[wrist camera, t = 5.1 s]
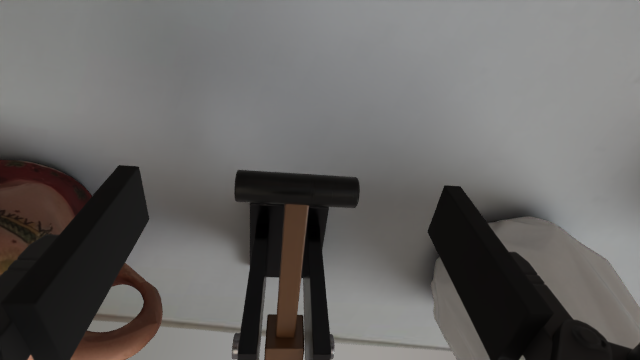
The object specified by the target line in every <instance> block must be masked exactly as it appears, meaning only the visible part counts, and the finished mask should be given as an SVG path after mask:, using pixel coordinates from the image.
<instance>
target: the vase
mask: <svg viewBox="0 0 640 360" xmlns="http://www.w3.org/2000/svg"><path fill="white" fill-rule="evenodd" d="M488 224H489V226H490V227H491V228H492V230H493V231H494V233H495V234H496V235H497V237H498V238H499V239H500V241H501V242H502V243H503V245H504V246H505V247H506V249H507V250H508V252H517V253H518V254H519V255H520V256H522V257H523V258H524V259H525V260H527V261H528V262H529V263H530V264H531V266H532V267H533V268H534V270H535V271H536V272H537V275H539V276H540V277H541V279H542V280H543V281H544V282H545V283H544V284H545V285H547V286H548V288H549V289H550V290H551V291H552V293H553V294H554V295H555V297H556V298H557V299H558V300H559V302H560V303H561V304H562V305H563V307H564V308H565V309H566V311H567V312H568V313H569V314H570V316H571V317H572V318H573V319H574V320H579V321H582V322H584V323H587V324H588V325H590V326H591V327H593V328H595V329H596V330H597V331H598V332H600V333H601V334H602V335H603V336H604V337H605V338H606V340H607V341H608V342H611V343H614V344H617V345H621V346H624V347H628V348H631V349H634V348H635V347H636V346H637V345H638V344H639V343H640V307H639V306H638V304H637V303H636V301H635V300H634V298H633V297H632V295H631V294H630V292H629V291H628V289H627V288H626V286H625V285H624V283H623V282H622V280H621V279H620V277H619V276H618V274H617V273H616V271H615V270H614V268H613V267H612V265H611V264H610V263H609V261H608V260H607V259H605V258H604V257H602V256H601V255H599V254H597V253H596V252H594V251H593V250H591V249H589V248H588V247H586V246H585V245H583V244H582V243H580V242H579V241H577V240H576V239H575V238H574V237H572V236H571V235H570V234H569V233H567V232H566V231H565V230H563V229H562V228H560V227H558V226H557V225H555V224H554V223H551V222H548V221H545V220H542V219H539V218H535V217H519V218H513V219H507V220H500V221H497V222H491V223H488ZM431 290H432V295H433V299H434V318H435V320H436V322H437V324H438V326H439V328H440V330H441V332H442V334H443V336H444V338H445V339H446V341H447V343H448V345H449V347H450V349H451V350H452V352H453V354H454V356H455V357H456V359H457V360H490V358H489V356H488V354H487V352H486V350H485V348H484V346H483V344H482V342H481V340H480V338H479V336H478V334H477V332H476V330H475V327H474V325H473V323H472V321H471V319H470V317H469V315H468V313H467V311H466V309H465V307H464V305H463V303H462V301H461V299H460V297H459V295H458V293H457V291H456V289H455V287H454V285H453V283H452V281H451V279H450V277H449V275H448V273H447V271H446V269H445V267H444V265H443V262H442V260H441V258H440V256H439V257H438V259H437V260H436V263H435V268H434V276H433V280H432V282H431ZM519 360H526V359H525V358H524V356H523V355H522V356H521V358H520V359H519Z"/></svg>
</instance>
